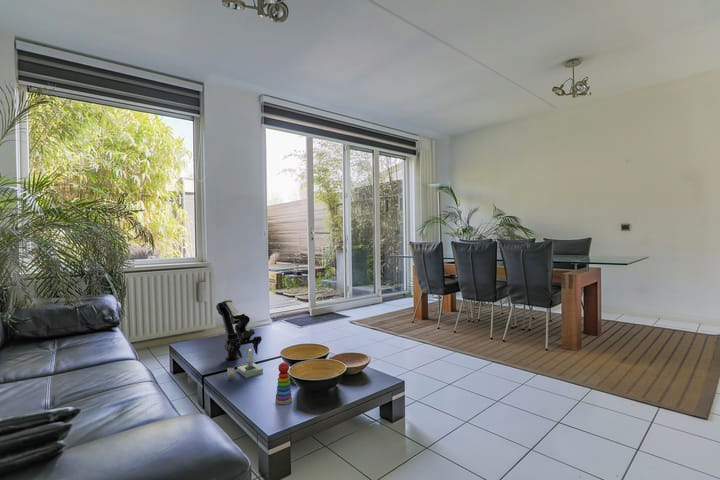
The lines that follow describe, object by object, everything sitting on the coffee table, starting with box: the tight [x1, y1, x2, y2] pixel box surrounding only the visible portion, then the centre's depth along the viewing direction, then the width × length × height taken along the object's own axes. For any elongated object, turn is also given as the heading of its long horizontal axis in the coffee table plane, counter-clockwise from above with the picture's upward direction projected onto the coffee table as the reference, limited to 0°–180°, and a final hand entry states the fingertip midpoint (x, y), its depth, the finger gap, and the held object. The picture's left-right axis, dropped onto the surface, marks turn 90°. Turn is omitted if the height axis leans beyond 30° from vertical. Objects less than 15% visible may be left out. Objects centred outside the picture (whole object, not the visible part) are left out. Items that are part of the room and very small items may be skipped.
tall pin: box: [245, 348, 254, 370], centre depth 211 cm, size 4×4×13 cm
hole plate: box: [236, 362, 264, 379], centre depth 211 cm, size 12×10×2 cm
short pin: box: [226, 366, 235, 381], centre depth 201 cm, size 4×4×6 cm
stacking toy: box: [274, 361, 293, 406], centre depth 175 cm, size 8×8×19 cm
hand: (249, 355), depth 211 cm, fingers open, 9 cm apart
